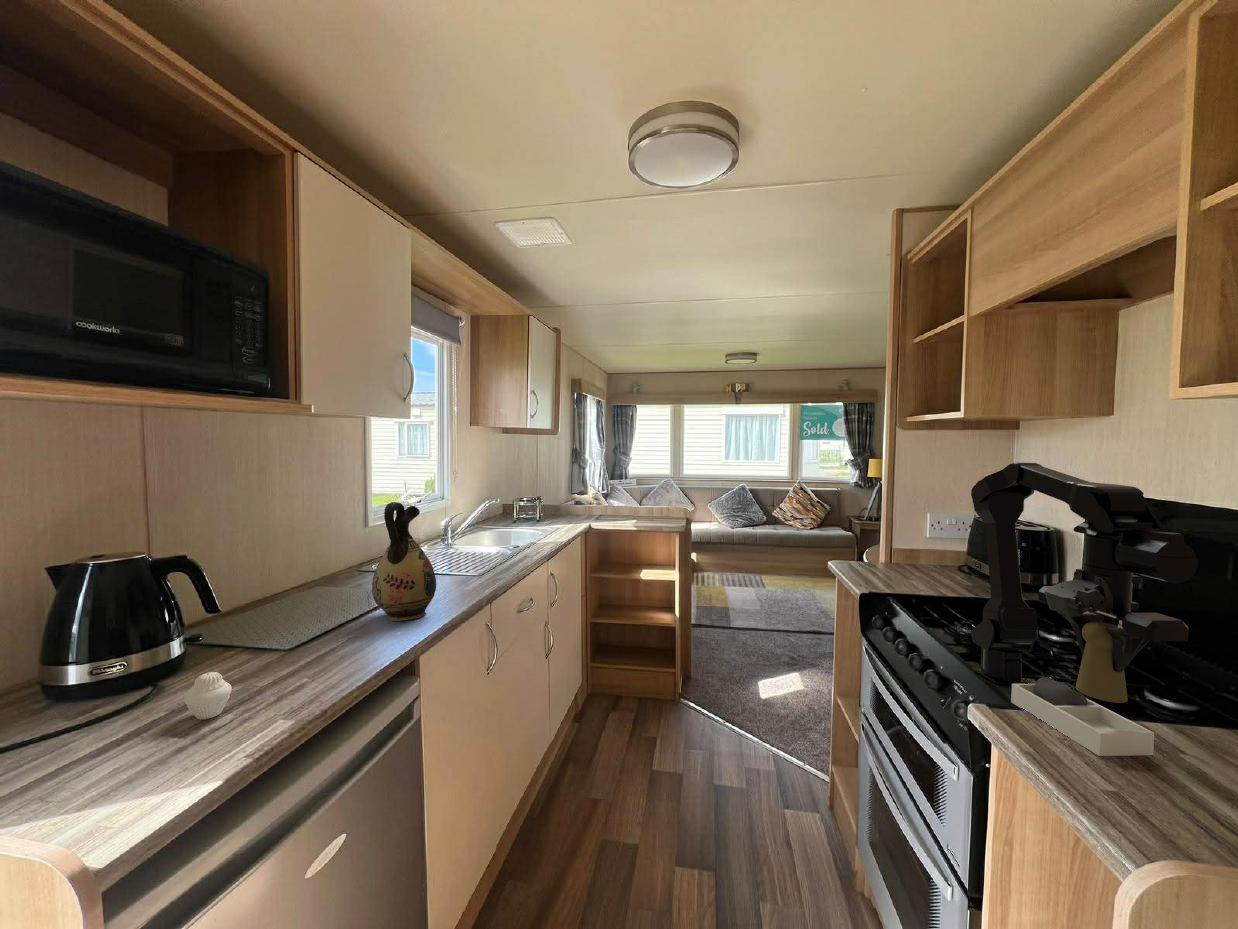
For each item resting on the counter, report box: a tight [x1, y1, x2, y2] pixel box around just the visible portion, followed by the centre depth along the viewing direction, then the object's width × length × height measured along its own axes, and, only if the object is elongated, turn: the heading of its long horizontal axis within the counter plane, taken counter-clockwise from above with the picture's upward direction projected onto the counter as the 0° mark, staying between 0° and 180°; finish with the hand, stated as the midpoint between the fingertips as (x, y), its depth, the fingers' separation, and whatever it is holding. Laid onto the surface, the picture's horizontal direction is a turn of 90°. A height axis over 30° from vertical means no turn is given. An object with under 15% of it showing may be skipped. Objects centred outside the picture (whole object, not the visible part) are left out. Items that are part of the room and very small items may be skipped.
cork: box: [1075, 622, 1129, 704], centre depth 82 cm, size 6×6×11 cm
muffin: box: [183, 671, 233, 720], centre depth 86 cm, size 6×6×7 cm
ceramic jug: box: [371, 501, 437, 622], centre depth 135 cm, size 17×15×30 cm
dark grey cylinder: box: [1034, 676, 1088, 706], centre depth 90 cm, size 6×4×4 cm, turn 4°
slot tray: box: [1010, 682, 1155, 757], centre depth 86 cm, size 16×8×3 cm, turn 3°
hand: (1102, 665), depth 82 cm, fingers closed on cork, 4 cm apart
